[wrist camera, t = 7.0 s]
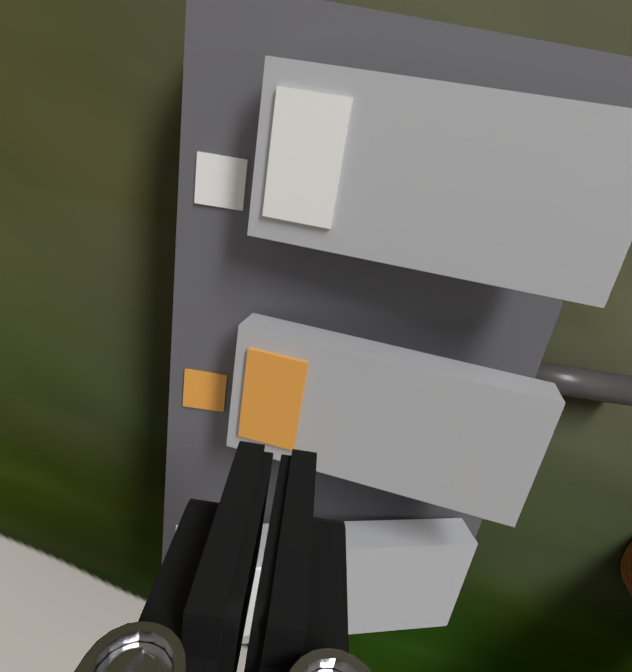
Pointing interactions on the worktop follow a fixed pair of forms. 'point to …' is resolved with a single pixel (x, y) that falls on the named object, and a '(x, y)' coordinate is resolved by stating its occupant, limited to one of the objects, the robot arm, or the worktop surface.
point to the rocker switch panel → (326, 267)
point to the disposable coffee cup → (627, 567)
